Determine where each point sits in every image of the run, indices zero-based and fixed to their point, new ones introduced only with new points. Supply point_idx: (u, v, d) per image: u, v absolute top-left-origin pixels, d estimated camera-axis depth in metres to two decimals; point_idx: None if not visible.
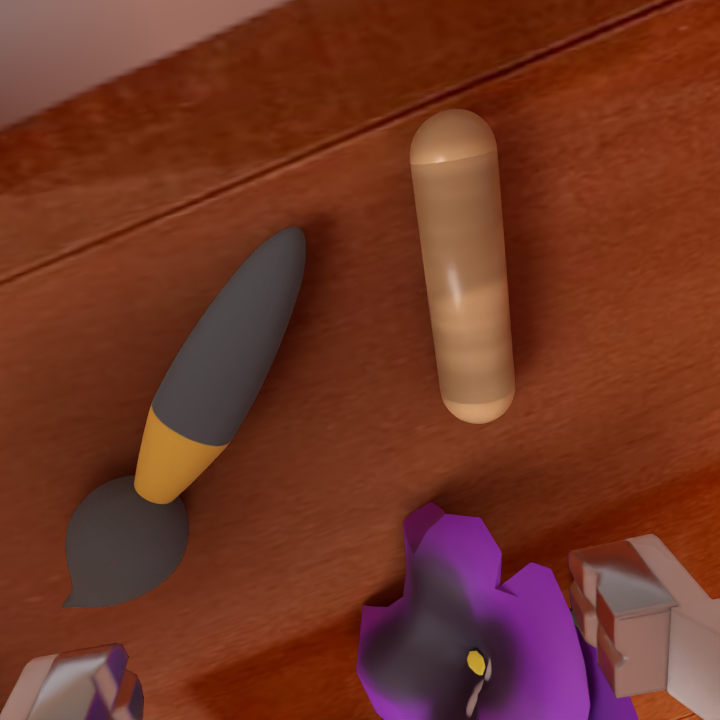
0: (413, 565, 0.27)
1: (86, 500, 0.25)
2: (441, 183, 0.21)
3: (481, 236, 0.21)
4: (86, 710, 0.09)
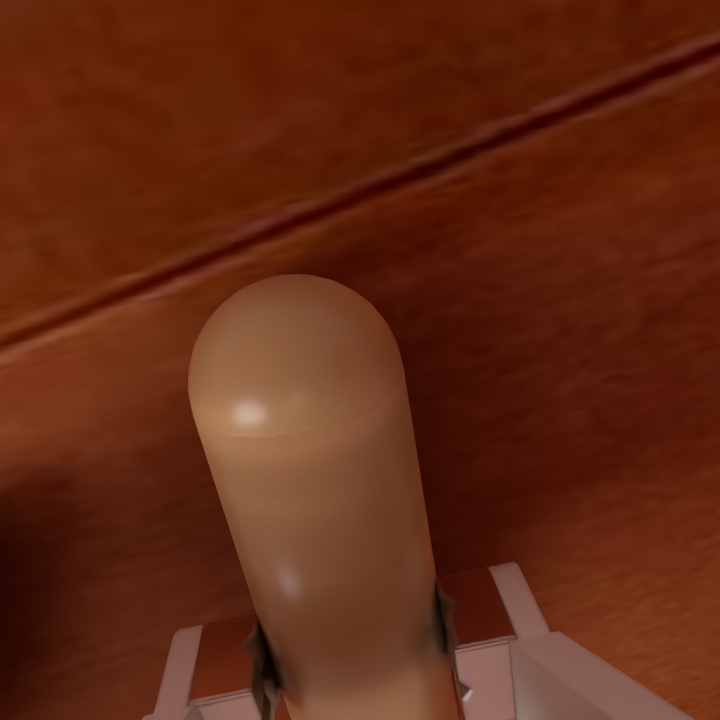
0: None
1: None
2: (249, 483, 0.08)
3: (364, 591, 0.09)
4: (251, 676, 0.09)
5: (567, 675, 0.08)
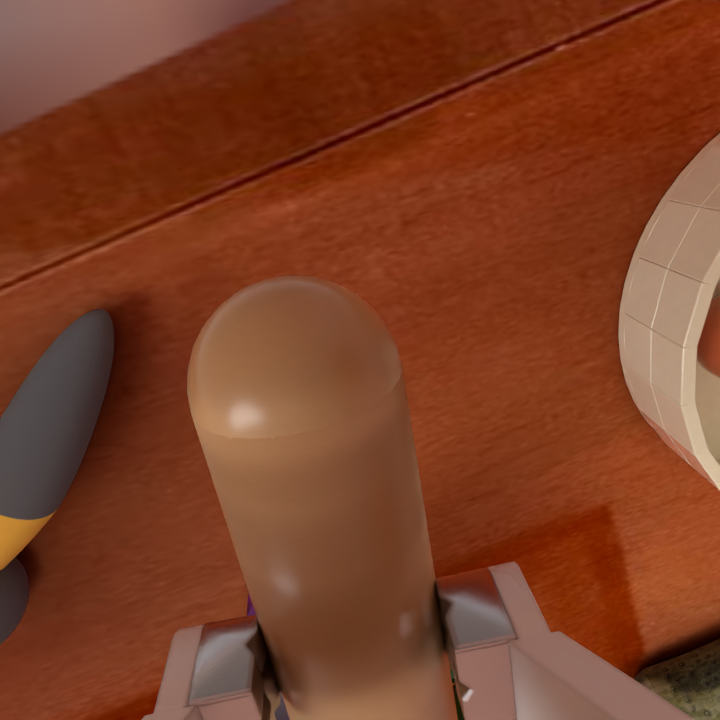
0: None
1: None
2: (248, 484, 0.08)
3: (363, 592, 0.09)
4: (251, 676, 0.09)
5: (567, 675, 0.08)
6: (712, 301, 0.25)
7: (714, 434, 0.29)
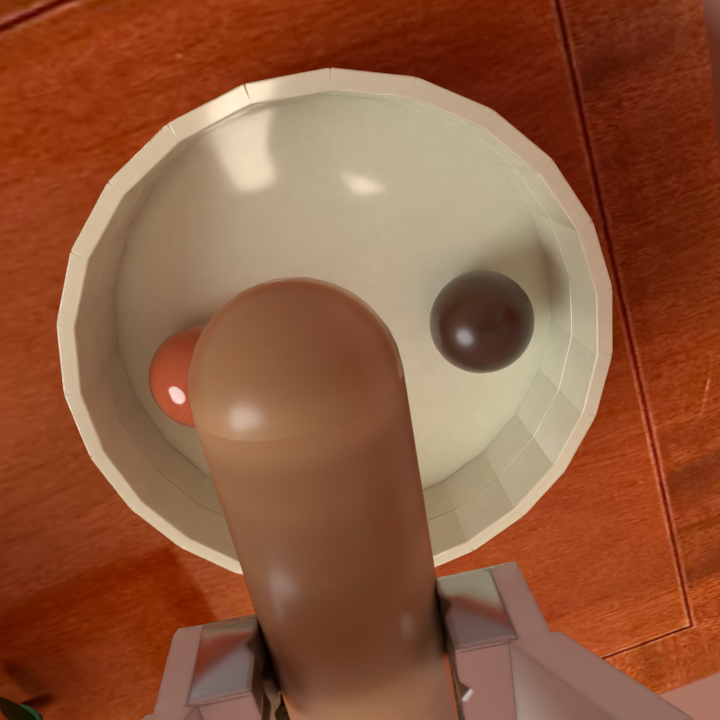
0: None
1: None
2: (248, 487, 0.08)
3: (364, 595, 0.09)
4: (251, 676, 0.09)
5: (567, 675, 0.08)
6: None
7: None
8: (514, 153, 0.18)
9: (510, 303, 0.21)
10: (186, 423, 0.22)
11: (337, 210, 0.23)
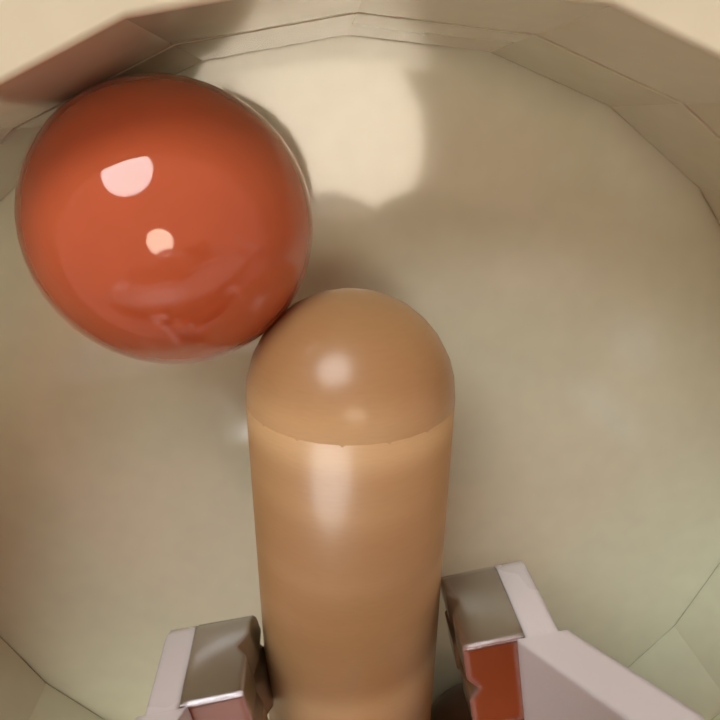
0: None
1: None
2: (302, 487, 0.08)
3: (388, 604, 0.09)
4: (243, 678, 0.09)
5: (575, 673, 0.08)
6: (270, 132, 0.08)
7: (0, 338, 0.11)
8: None
9: None
10: None
11: (583, 491, 0.13)
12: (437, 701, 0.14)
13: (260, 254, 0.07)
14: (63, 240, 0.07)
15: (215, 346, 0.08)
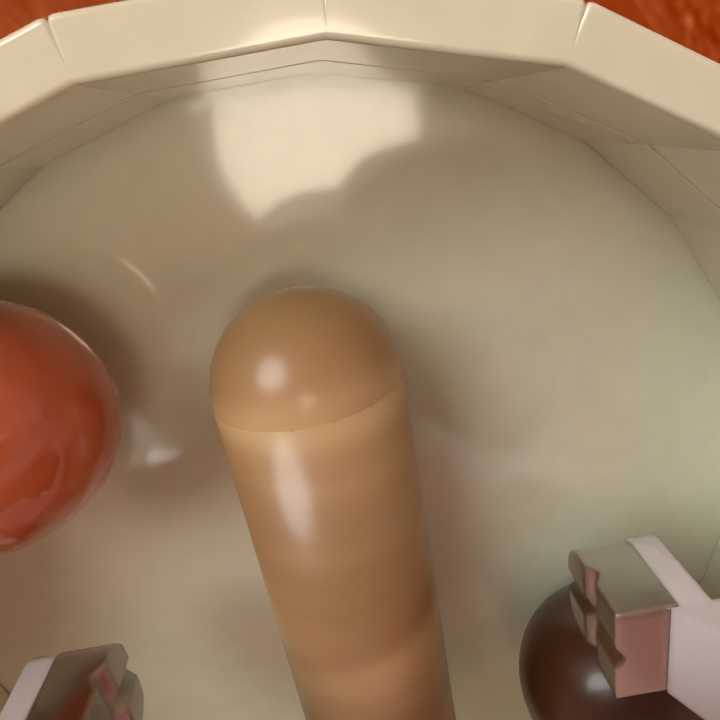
0: None
1: None
2: (307, 472, 0.09)
3: (400, 551, 0.10)
4: (86, 710, 0.09)
5: None
6: None
7: None
8: None
9: None
10: None
11: (547, 419, 0.12)
12: None
13: (33, 431, 0.08)
14: None
15: (58, 513, 0.09)
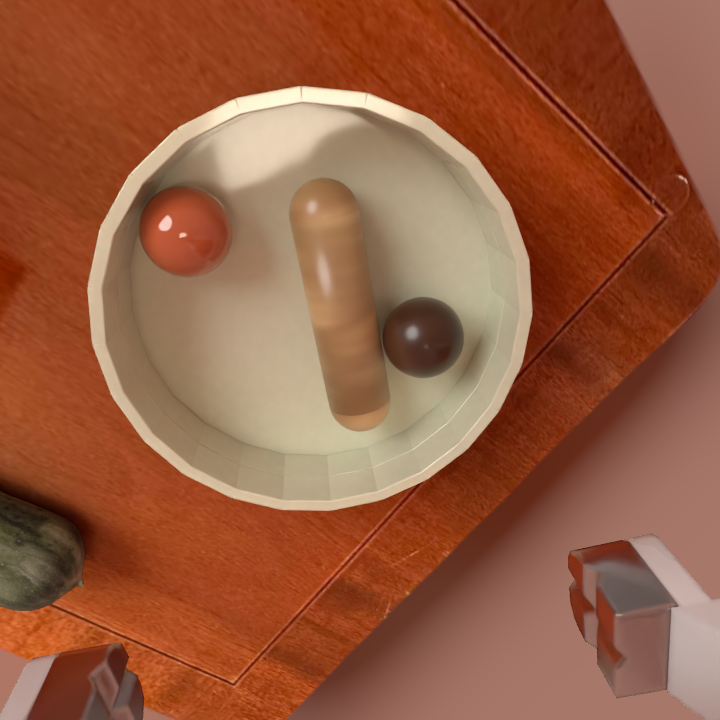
0: None
1: None
2: (349, 231, 0.26)
3: (368, 268, 0.28)
4: (86, 710, 0.09)
5: None
6: (198, 190, 0.25)
7: (155, 304, 0.29)
8: (514, 341, 0.27)
9: (463, 341, 0.29)
10: None
11: (401, 249, 0.29)
12: None
13: (214, 224, 0.25)
14: (165, 247, 0.24)
15: (217, 257, 0.26)
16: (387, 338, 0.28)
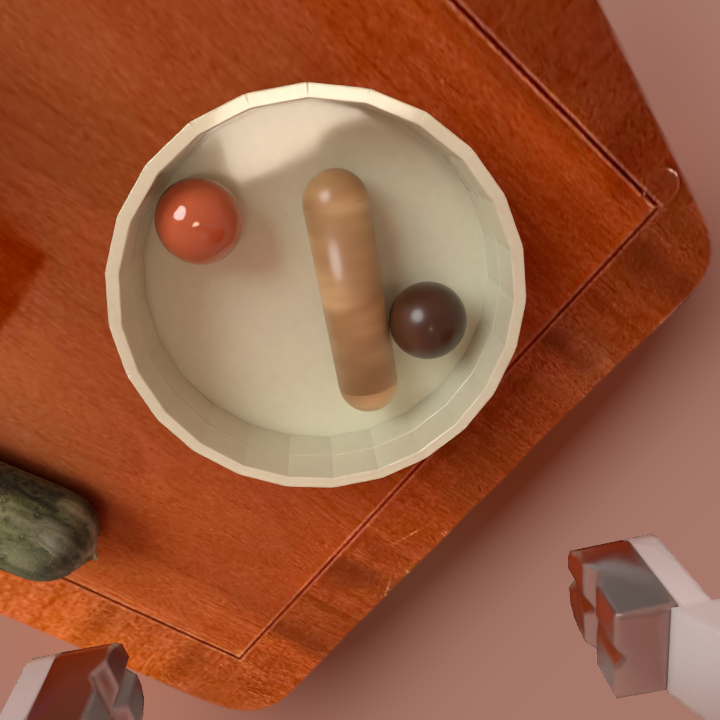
0: None
1: None
2: (365, 217, 0.28)
3: (377, 253, 0.29)
4: (86, 710, 0.09)
5: None
6: (210, 182, 0.27)
7: (167, 290, 0.31)
8: (509, 326, 0.28)
9: None
10: None
11: (401, 238, 0.31)
12: None
13: (226, 214, 0.26)
14: (181, 236, 0.26)
15: (229, 245, 0.27)
16: (396, 321, 0.29)
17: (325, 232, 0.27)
